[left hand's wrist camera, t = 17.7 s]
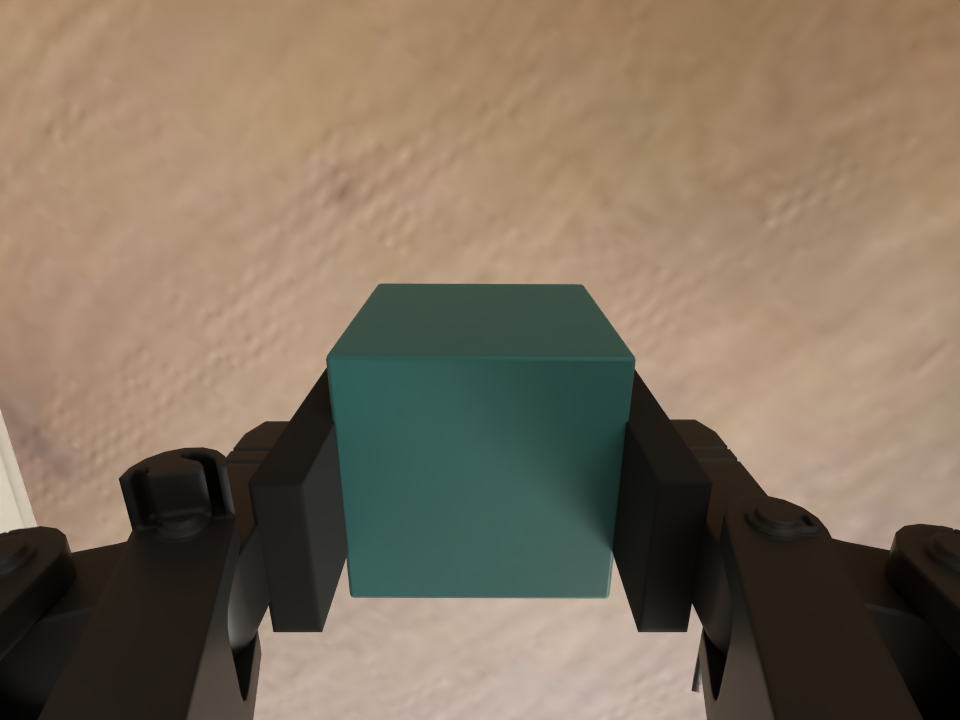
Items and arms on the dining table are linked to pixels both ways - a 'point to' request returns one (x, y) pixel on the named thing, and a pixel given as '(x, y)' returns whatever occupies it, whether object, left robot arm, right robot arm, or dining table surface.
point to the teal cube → (480, 441)
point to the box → (12, 489)
